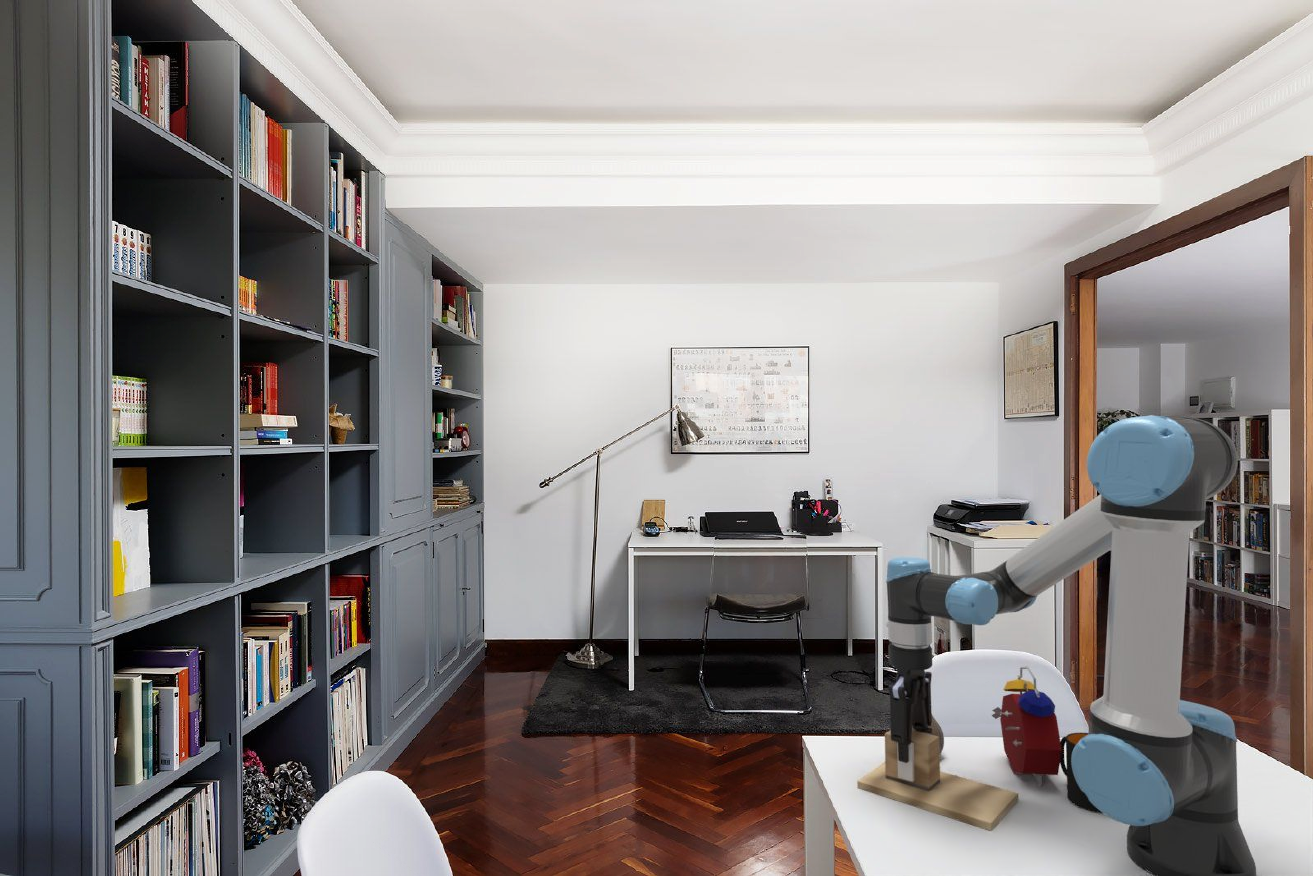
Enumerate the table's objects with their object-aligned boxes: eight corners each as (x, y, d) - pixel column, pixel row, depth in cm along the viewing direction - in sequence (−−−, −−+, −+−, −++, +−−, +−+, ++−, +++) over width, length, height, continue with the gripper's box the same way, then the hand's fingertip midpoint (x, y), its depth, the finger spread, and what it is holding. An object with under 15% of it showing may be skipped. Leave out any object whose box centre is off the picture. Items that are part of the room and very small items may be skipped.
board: (1018, 800, 125) (1018, 793, 125) (991, 831, 115) (991, 823, 115) (891, 763, 141) (891, 757, 141) (857, 787, 131) (857, 781, 131)
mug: (1080, 780, 133) (1079, 723, 133) (1135, 811, 121) (1134, 748, 121) (1041, 784, 131) (1039, 727, 132) (1093, 816, 119) (1091, 752, 120)
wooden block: (940, 781, 130) (939, 736, 130) (929, 791, 126) (928, 745, 126) (897, 769, 135) (896, 726, 136) (885, 778, 132) (884, 733, 132)
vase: (908, 761, 142) (907, 715, 142) (906, 747, 149) (905, 704, 149) (945, 765, 140) (944, 719, 140) (942, 751, 147) (941, 707, 147)
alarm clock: (1064, 793, 128) (1061, 678, 128) (1012, 790, 129) (1009, 677, 130) (1034, 759, 142) (1031, 656, 143) (987, 756, 144) (985, 655, 144)
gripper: (910, 632, 141) (913, 753, 140) (867, 650, 127) (870, 784, 127) (949, 637, 136) (952, 763, 135) (909, 657, 122) (912, 797, 122)
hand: (912, 773), depth 131 cm, fingers closed on wooden block, 5 cm apart
